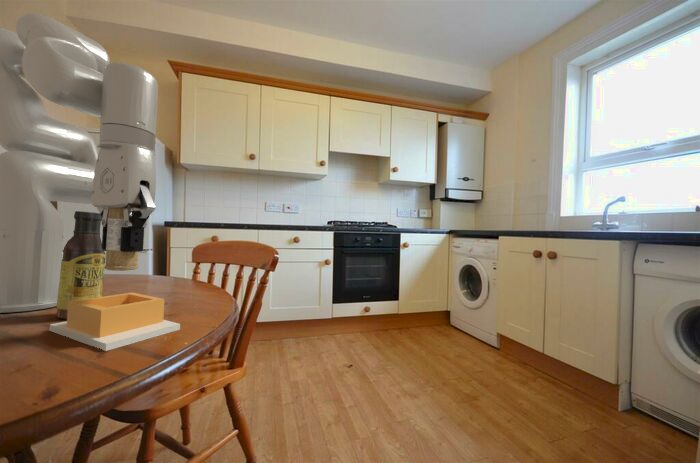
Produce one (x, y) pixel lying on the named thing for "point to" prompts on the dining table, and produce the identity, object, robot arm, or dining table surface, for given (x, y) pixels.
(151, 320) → the socket base
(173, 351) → the dining table surface
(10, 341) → the dining table surface
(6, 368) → the dining table surface
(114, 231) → the sprinkles bottle
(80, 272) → the sauce bottle
